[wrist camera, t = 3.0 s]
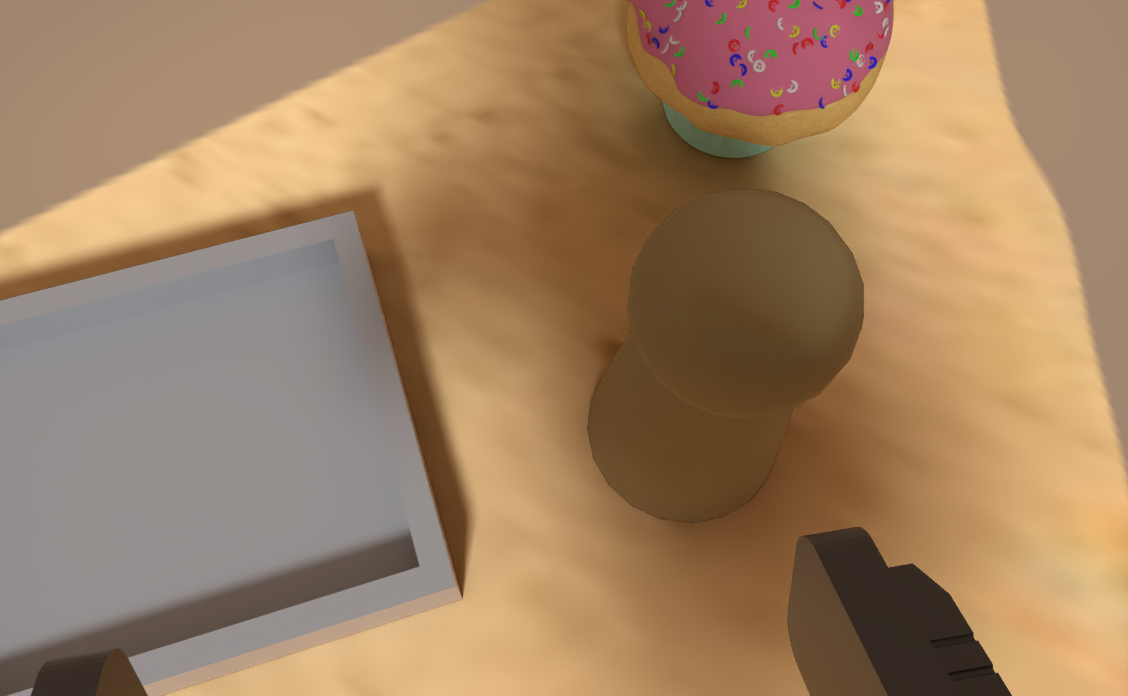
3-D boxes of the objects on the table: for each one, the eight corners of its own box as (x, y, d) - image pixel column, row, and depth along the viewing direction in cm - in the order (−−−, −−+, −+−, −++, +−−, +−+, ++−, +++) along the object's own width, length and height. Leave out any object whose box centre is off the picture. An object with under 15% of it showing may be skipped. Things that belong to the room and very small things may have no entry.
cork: (559, 372, 31) (574, 189, 21) (732, 314, 32) (827, 113, 22) (629, 551, 29) (684, 445, 19) (811, 483, 30) (958, 348, 20)
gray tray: (-40, 759, 26) (-96, 761, 24) (-73, 363, 30) (-123, 332, 28) (462, 598, 28) (456, 586, 26) (365, 248, 32) (353, 210, 30)
